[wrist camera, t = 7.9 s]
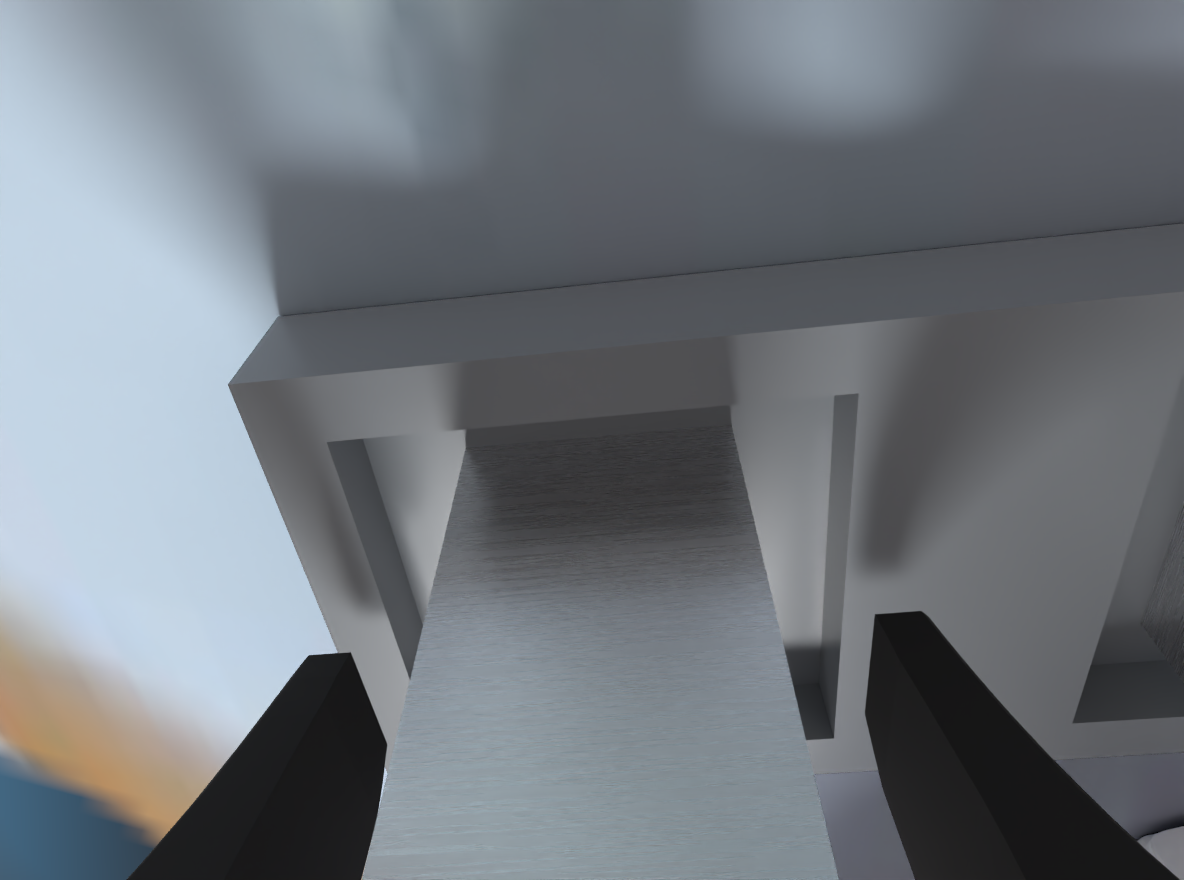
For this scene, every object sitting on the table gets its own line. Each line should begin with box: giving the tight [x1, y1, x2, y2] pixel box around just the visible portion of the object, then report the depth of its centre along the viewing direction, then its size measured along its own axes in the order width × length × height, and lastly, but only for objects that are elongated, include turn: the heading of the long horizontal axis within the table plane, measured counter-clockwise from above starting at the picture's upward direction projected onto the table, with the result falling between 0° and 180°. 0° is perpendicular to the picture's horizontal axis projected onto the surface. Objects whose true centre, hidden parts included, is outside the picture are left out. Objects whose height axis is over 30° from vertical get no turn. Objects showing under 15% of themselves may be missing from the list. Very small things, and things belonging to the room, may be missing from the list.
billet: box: [362, 425, 839, 880], centre depth 11 cm, size 5×4×7 cm
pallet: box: [228, 223, 1184, 774], centre depth 13 cm, size 9×20×2 cm, turn 97°
